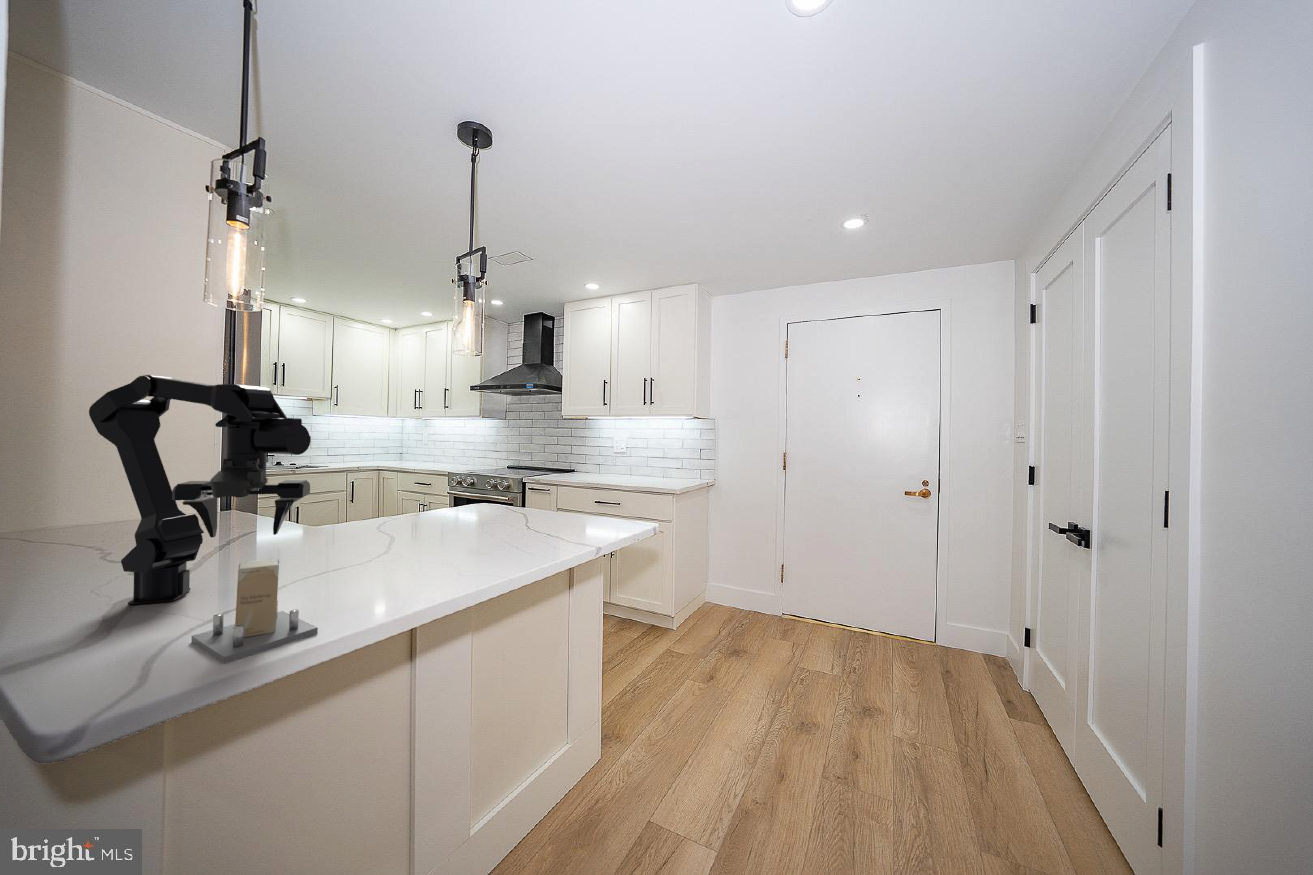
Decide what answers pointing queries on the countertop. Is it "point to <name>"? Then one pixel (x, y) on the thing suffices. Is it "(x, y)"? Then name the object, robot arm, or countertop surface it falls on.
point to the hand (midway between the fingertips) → (244, 535)
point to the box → (257, 596)
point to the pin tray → (251, 637)
